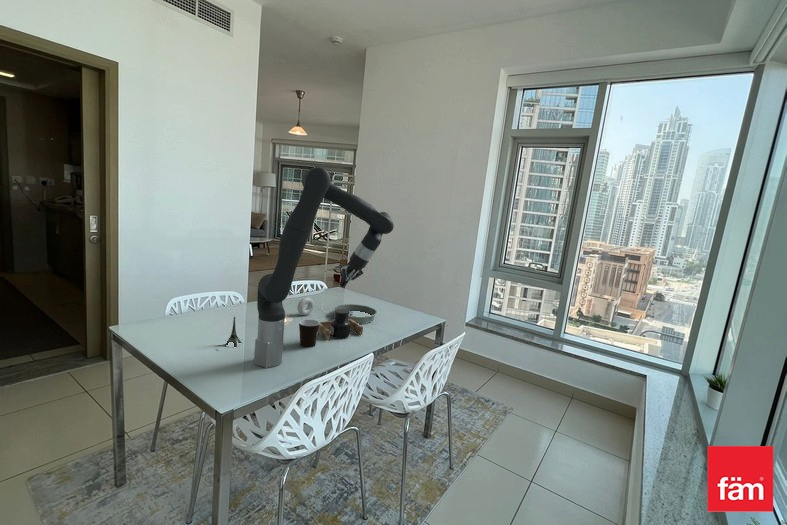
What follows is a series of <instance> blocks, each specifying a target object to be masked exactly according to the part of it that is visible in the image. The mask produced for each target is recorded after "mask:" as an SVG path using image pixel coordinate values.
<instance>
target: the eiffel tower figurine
mask: <svg viewBox="0 0 787 525" xmlns="http://www.w3.org/2000/svg"><path fill="white" fill-rule="evenodd" d="M227 340H228V341H227V343H226V344H225V345H228V343H229V342H233V343H234V347H237V342H238V343H242V344H243V342H242V341H241V339H240V338H239V337H238V334H237V330H236V316H235V315H234V316H233V322H232V330H231V333H230V337H229V338H228V339H227ZM234 347H233V348H234ZM237 348H238V347H237Z"/></svg>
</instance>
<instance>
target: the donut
mask: <svg viewBox="0 0 787 525" xmlns="http://www.w3.org/2000/svg"><path fill="white" fill-rule="evenodd" d="M305 305H307V306H306V308H305ZM296 307H297V308H296V310H297V313H298V314H299V315H300V316H303V317H304V316H308V315H310V314H311V313H312V312H313V311H314V307H315V301H314V300H313V299H312V298H311V297H307V296H306V297H302V298H301V299H300V300H299V301H298V304H297V306H296Z"/></svg>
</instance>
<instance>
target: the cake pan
mask: <svg viewBox="0 0 787 525" xmlns="http://www.w3.org/2000/svg"><path fill="white" fill-rule="evenodd" d="M336 309H345V310H348V311H360V312H365V313H368V314H370V315H371V316H365V317H356V316H349V318H348V319H352V320H353V321H355V322H356V323H365V324H367V323H366V322H370V321H372V320H373V321H374V320H375V316H376V315H378V310H376V309H375V307H374V308H373V307H371V306H368V305H363V304H357V303H356V304H355V303H343V304H338V305H335V306H333V307H332V312H333V313H334V310H336ZM373 321H372V322H373ZM370 323H371V322H370Z"/></svg>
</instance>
